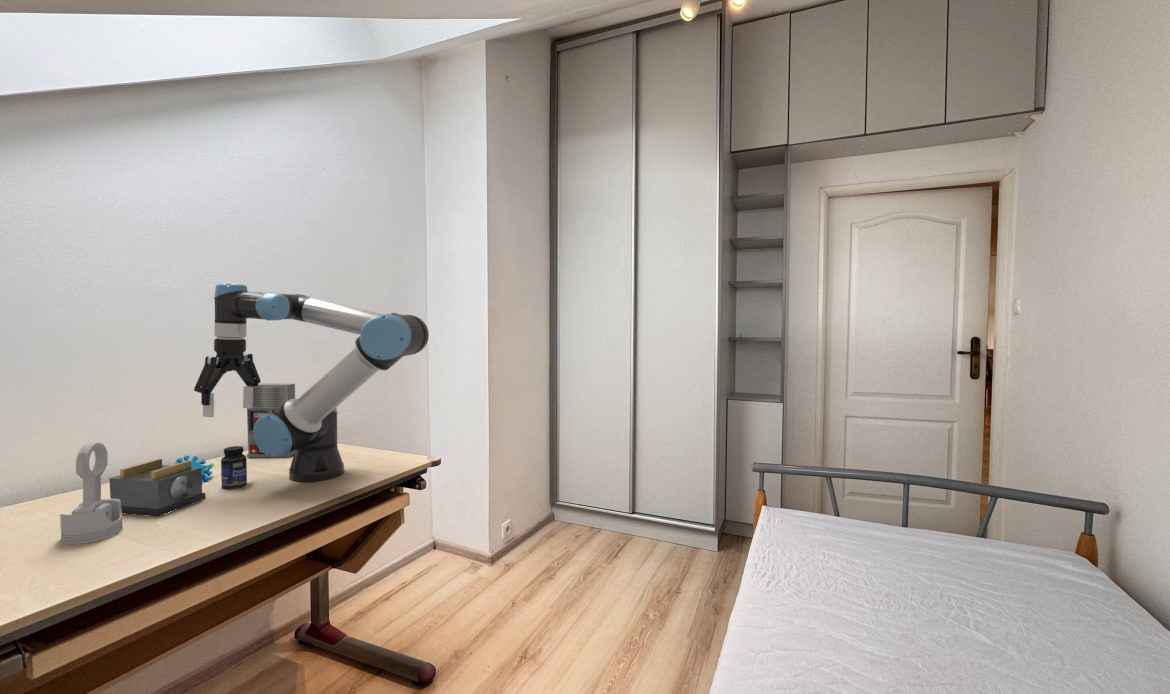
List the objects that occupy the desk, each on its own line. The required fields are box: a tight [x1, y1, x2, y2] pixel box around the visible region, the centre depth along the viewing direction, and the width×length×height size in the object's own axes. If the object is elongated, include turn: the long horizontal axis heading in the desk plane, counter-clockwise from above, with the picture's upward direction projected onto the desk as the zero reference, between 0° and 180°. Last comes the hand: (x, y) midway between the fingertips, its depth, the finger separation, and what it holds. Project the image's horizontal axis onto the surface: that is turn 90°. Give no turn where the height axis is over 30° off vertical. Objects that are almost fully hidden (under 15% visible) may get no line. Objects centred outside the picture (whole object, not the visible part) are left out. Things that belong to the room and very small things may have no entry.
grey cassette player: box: [245, 382, 296, 459], centre depth 182 cm, size 14×6×25 cm, turn 95°
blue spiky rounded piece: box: [173, 455, 215, 483], centre depth 154 cm, size 11×6×10 cm
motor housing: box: [108, 458, 207, 517], centre depth 135 cm, size 15×13×10 cm
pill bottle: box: [220, 445, 248, 490], centre depth 150 cm, size 6×6×11 cm
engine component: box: [59, 442, 124, 545], centre depth 117 cm, size 11×20×10 cm
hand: (229, 412), depth 150 cm, fingers open, 13 cm apart
